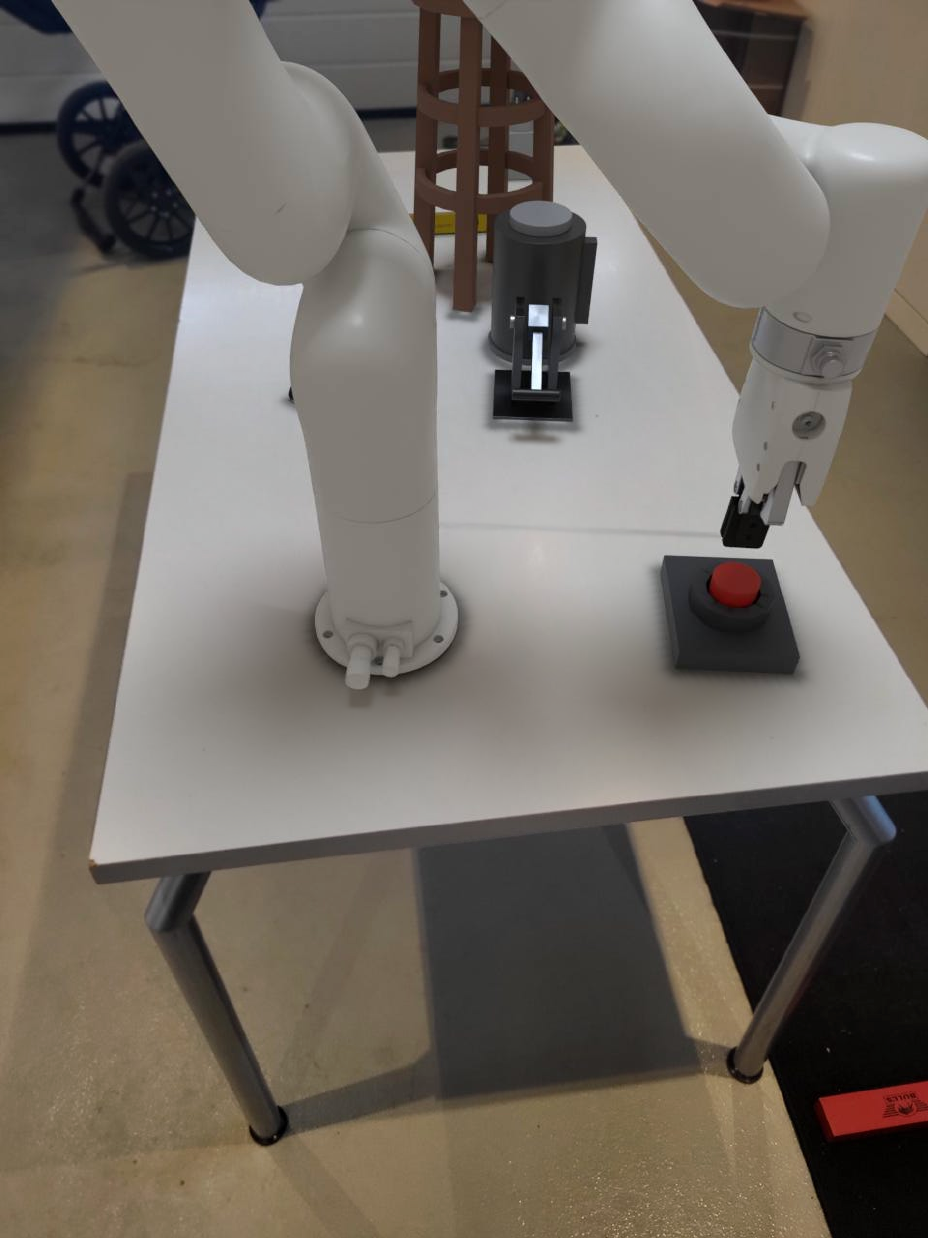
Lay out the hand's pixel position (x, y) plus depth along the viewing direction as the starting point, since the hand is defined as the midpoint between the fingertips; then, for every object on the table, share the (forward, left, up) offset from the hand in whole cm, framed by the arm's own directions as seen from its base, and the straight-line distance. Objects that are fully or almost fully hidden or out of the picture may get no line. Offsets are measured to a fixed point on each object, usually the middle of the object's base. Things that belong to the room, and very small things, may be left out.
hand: (740, 541), depth 72 cm
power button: (0, -1, -6) cm, 6 cm away
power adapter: (+103, +18, -10) cm, 105 cm away
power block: (0, -1, -9) cm, 9 cm away
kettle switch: (+31, +16, -2) cm, 35 cm away
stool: (+63, +23, -10) cm, 68 cm away
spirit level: (+78, +39, -10) cm, 88 cm away
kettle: (+47, +16, -9) cm, 50 cm away
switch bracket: (+34, +16, -9) cm, 39 cm away
